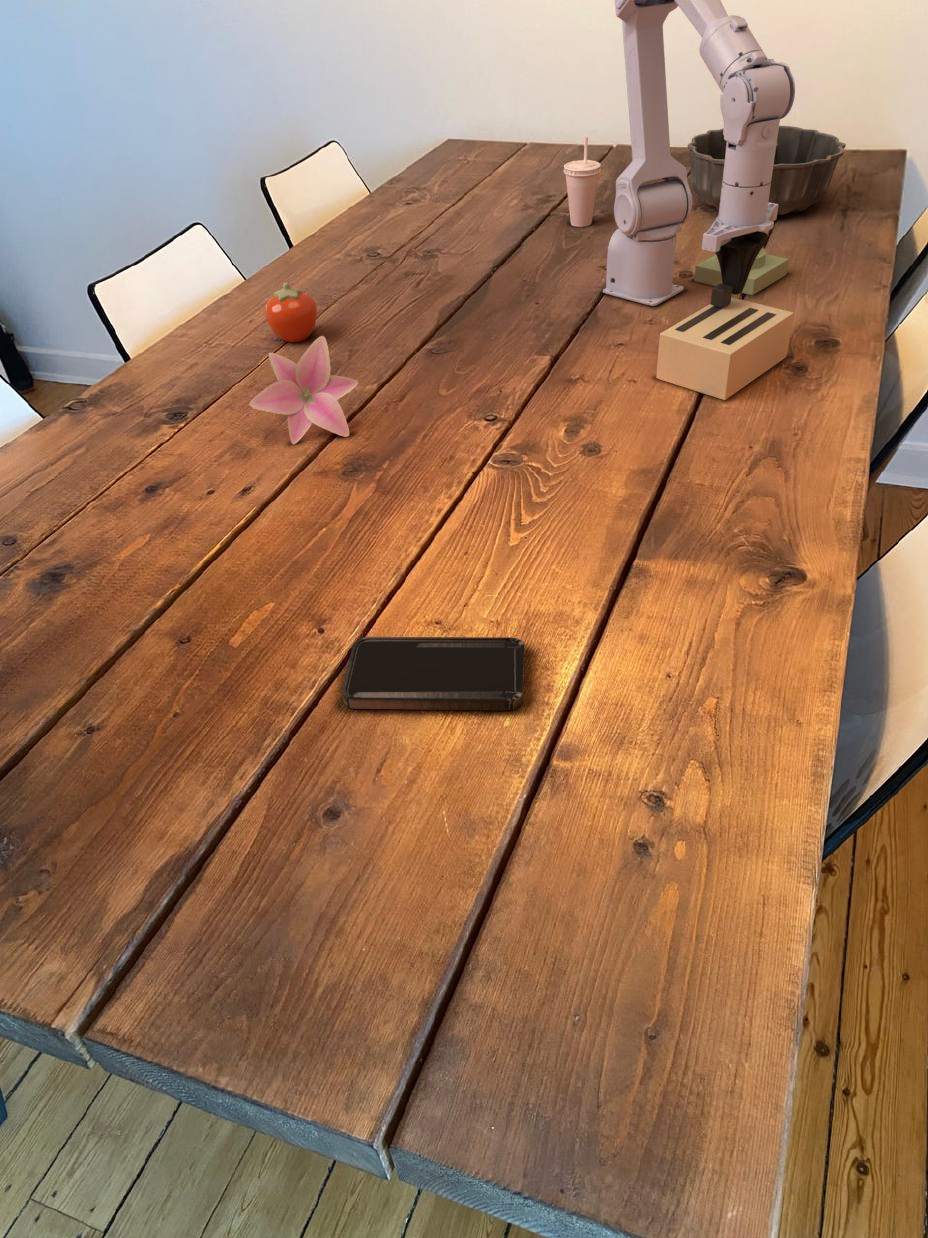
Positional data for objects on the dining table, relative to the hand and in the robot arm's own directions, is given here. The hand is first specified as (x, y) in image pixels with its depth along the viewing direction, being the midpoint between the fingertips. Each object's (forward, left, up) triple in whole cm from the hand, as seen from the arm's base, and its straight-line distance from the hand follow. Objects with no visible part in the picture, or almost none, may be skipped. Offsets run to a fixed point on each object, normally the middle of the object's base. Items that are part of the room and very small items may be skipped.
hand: (732, 291), depth 123 cm
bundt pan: (-27, +54, -7) cm, 61 cm away
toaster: (+3, -7, -7) cm, 10 cm away
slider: (0, -3, -1) cm, 3 cm away
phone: (+15, -72, -7) cm, 74 cm away
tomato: (-51, -34, -7) cm, 61 cm away
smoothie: (-47, +28, -7) cm, 55 cm away
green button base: (-11, +21, -7) cm, 25 cm away
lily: (-28, -50, -7) cm, 57 cm away
